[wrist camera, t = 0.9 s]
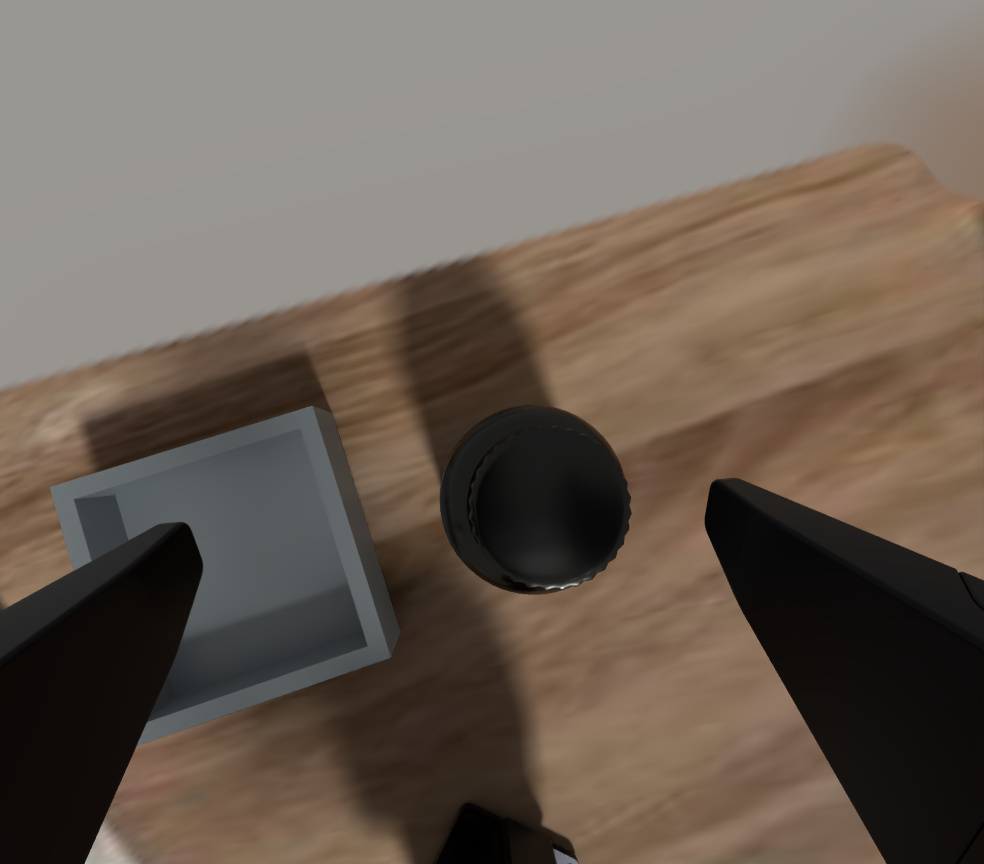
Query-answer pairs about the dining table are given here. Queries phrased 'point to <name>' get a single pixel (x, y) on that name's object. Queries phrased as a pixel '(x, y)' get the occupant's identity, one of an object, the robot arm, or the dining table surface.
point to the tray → (249, 561)
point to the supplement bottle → (534, 500)
